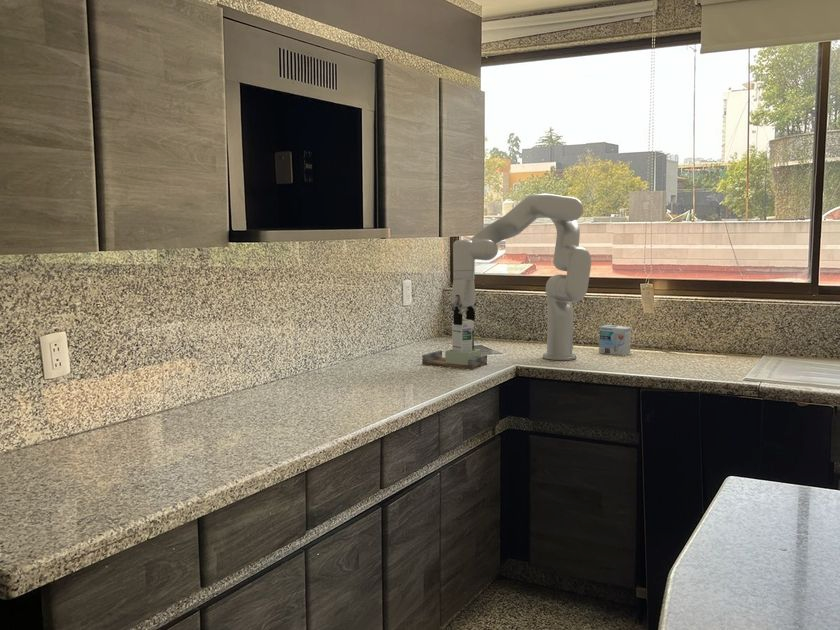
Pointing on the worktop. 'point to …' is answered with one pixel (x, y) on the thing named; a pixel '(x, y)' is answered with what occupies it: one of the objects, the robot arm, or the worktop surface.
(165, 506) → the worktop surface
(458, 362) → the collar
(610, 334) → the light bulb box
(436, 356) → the grey brown tray
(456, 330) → the syrup box
